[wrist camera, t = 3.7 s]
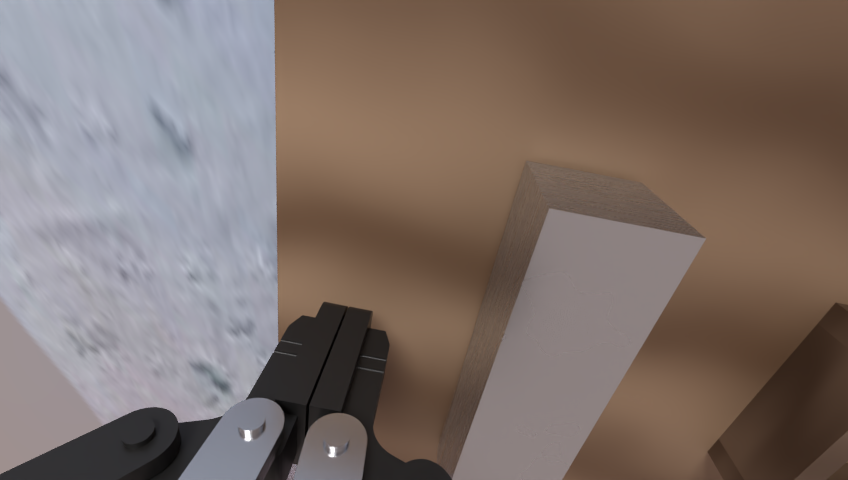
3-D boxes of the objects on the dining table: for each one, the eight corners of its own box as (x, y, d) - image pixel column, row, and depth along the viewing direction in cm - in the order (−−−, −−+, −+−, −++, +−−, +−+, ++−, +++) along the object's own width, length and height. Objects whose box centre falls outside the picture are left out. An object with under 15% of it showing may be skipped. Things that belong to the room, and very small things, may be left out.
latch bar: (525, 160, 10) (549, 208, 7) (641, 182, 10) (706, 238, 7) (437, 447, 16) (433, 531, 13) (511, 460, 16) (521, 548, 13)
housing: (308, -178, 9) (193, -331, 5) (1487, 61, 9) (2222, 86, 5) (296, 404, 19) (253, 503, 15) (873, 511, 19) (978, 635, 15)
